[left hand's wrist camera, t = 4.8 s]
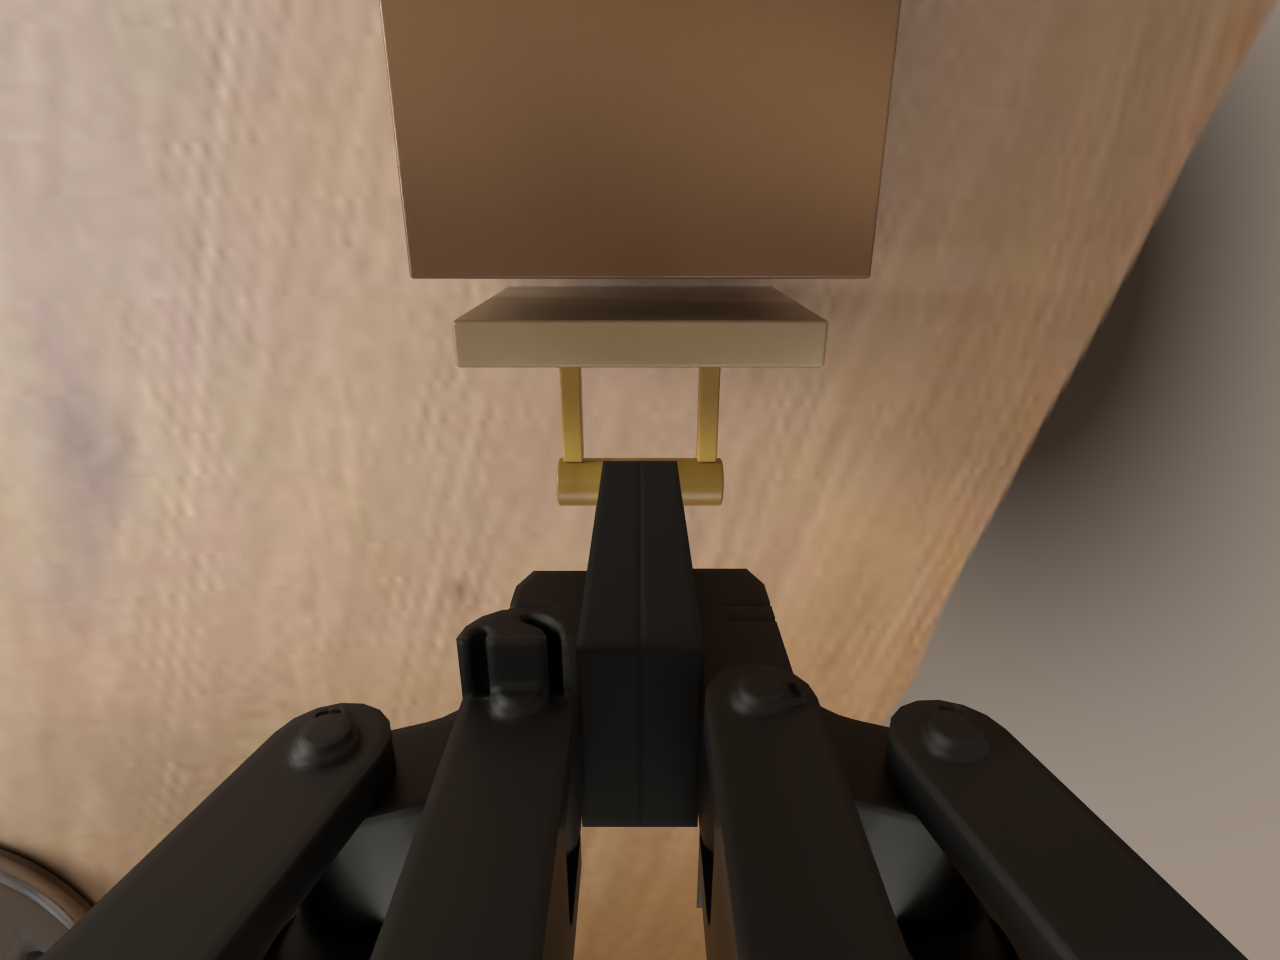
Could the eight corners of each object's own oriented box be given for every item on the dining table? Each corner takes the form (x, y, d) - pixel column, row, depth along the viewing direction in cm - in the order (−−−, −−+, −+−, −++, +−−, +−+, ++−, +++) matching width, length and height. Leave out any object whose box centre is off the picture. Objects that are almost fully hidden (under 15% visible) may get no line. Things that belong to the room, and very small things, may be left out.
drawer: (761, 455, 27) (807, 549, 20) (518, 455, 27) (472, 549, 20) (808, -262, 20) (911, -546, 12) (471, -261, 20) (368, -546, 12)
